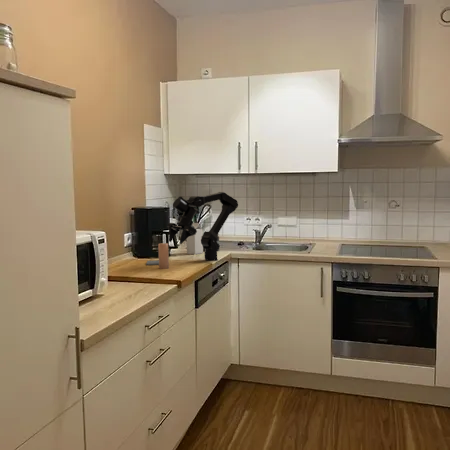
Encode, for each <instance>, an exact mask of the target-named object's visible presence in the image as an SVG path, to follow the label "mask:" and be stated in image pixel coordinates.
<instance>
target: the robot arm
mask: <svg viewBox="0 0 450 450" xmlns="http://www.w3.org/2000/svg"><path fill="white" fill-rule="evenodd" d="M217 201H219V202H220V204H221V211H220V213H219V215H218V217H216V219H215V221H214V223H213V225H212V226H211V228H210V230H208V231H207V230H206V231H205V230H204V232H203V233H202V235H203V236H202V238H201V244H202V245H203V248H204V249H206V251H204V260H205V261H207V262H208V261H210V262H211V261H218V260H219V259H218V251H217V249H219V250H220V248H221V247H220V246H221V245H220V243H219V244H218V243H217V242H216V241H217V235H218V236H219V233H220V232H221V230H222V228H223V226H224V225H225V222H226V221H227V219H228V218H229V216H230V215H231V214H233V212H235V211H236V210H237V209H238V206H239V204H238V203H239V202H238V200H237V199H236V198H234V197H232V196H230V195H229V194H227V193H226V192H224V191H218V192H215V193H211V194H210V193H209V194H206V195H202V196H201V195H198V196H197V195H196V196H195V195H194V196H189V198H188V199H184V197H183V196H178V198H176V199H175V200H174V201H173V202H172V203H173V204H172V207H173V208H174V209H176V210H177V211H178V212H179V213H181V214H182V215H179V218H180V219H179V221H178V222H175V223H174V222H169V223H167V226H166V227H167V229H168V242H170V243H171V242H172V241H173V239H174V238H175V236H176V235H177V234H179V232H180V231H181V236H180V238H179V244H180V245H181V244H183V243H184V242H185V241H187V238H188V237H189V236H193V235H196V232H197V230H196V229H195V228H194V226H193V225H192V224H193V223H194V221H193V219H194V217H195V215H196V214H197V215H199V214H200V211H199V208H200V207H202V206H204V205H205V204H207V203H208V204H209V203H211V202H217Z"/></svg>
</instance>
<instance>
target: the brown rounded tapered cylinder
mask: <svg viewBox="0 0 450 450" xmlns="http://www.w3.org/2000/svg"><path fill="white" fill-rule="evenodd" d="M169 256H170V255H169V243H168V242H161V243H158V260H159V265H158V269H160V270H166V269H170V262H169V260H170V259H169V258H170V257H169Z"/></svg>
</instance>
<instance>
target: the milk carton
mask: <svg viewBox="0 0 450 450" xmlns="http://www.w3.org/2000/svg"><path fill="white" fill-rule="evenodd" d="M192 225H193V226H194V228H195V229H196V230H197V232H196V235H193V236H189V237H188V238H187V239H186V254H187V255H188V254H189V255H199V254H204V250H203V245H202V244H201V238H202V236H203V228H202V227H201V226H200V225H199V222H193V224H192Z"/></svg>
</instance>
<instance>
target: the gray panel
mask: <svg viewBox="0 0 450 450" xmlns="http://www.w3.org/2000/svg"><path fill="white" fill-rule="evenodd" d="M145 264H146V265H145V266H159V259H158V260H155V259H154V260H146V263H145Z"/></svg>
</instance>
